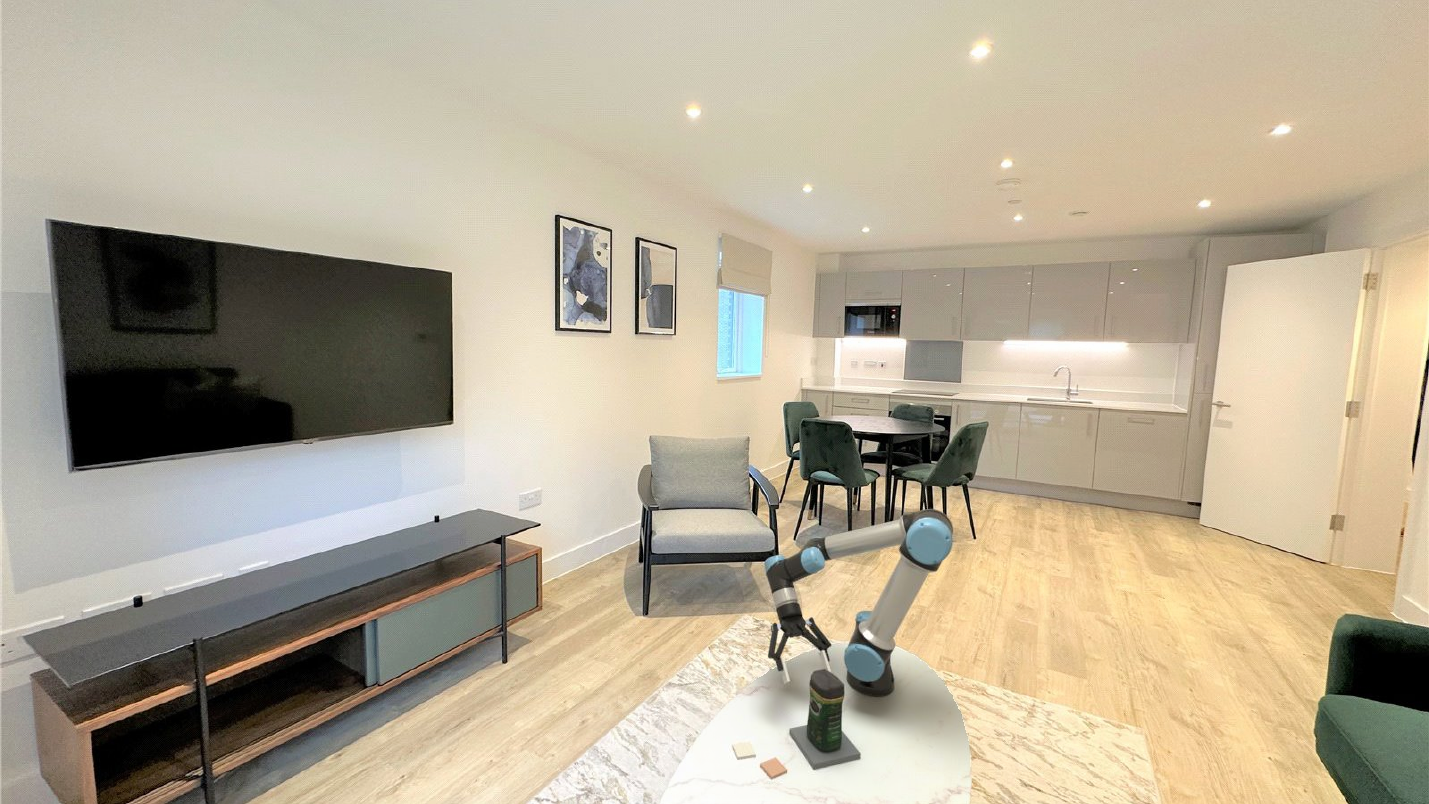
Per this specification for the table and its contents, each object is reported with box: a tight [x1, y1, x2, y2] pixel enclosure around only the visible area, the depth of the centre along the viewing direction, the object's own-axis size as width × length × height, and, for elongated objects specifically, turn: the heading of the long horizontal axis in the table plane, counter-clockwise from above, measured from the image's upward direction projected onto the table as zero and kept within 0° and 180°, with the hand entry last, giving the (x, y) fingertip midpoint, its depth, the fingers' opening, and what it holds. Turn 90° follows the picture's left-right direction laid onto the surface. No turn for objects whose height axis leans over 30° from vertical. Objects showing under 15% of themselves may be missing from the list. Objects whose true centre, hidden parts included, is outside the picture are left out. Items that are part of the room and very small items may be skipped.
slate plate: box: [788, 724, 862, 770], centre depth 151 cm, size 14×14×2 cm
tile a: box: [759, 757, 788, 780], centre depth 142 cm, size 5×5×1 cm
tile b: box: [731, 741, 757, 761], centre depth 148 cm, size 5×5×1 cm
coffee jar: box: [806, 669, 846, 751], centre depth 150 cm, size 10×8×19 cm
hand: (808, 678), depth 161 cm, fingers open, 13 cm apart
